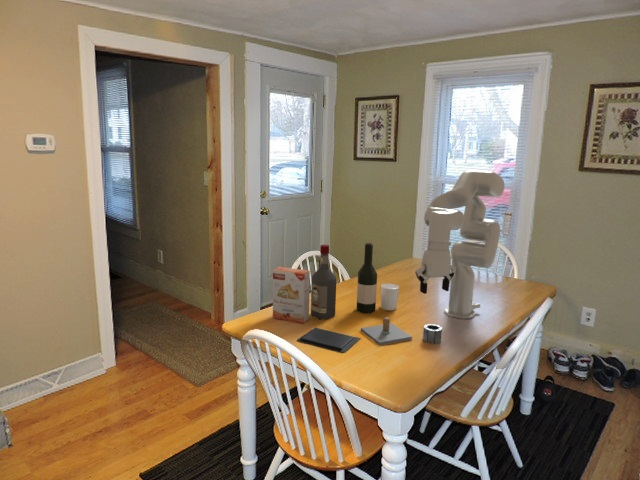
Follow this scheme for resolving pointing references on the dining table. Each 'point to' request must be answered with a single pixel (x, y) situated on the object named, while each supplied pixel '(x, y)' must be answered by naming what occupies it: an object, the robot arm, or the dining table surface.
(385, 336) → the post base
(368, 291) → the wine bottle
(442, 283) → the robot arm
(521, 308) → the dining table surface
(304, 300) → the cracker box
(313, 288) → the liquor
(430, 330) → the collar
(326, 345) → the wallet
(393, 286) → the white cup
